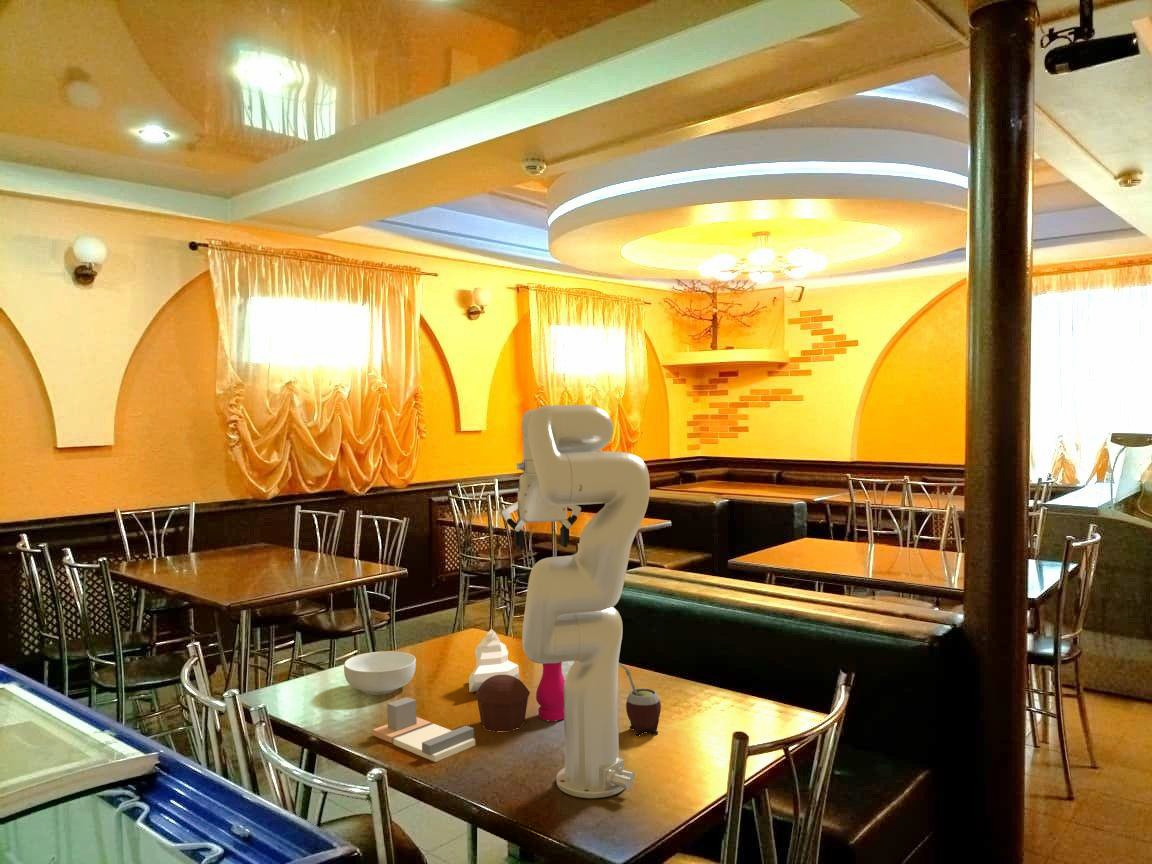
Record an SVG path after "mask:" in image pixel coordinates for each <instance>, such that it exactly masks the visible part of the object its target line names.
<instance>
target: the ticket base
mask: <svg viewBox="0 0 1152 864" xmlns="http://www.w3.org/2000/svg"><path fill="white" fill-rule="evenodd" d="M392 745H394V746H397V747H399V748H401V749H403V750H406V751H408V752H411V753H413V754H415V755H418V756H420V757H422V758H425V759H426V760H429V761H431V762H435V763H437V762H440V761H441V760H443V759H446V758H448V757H451V756H453V755H456V754H458V753H461V752H463V751H466V750H468V749H470V748H473V747H475V746H476V738H475V728H474V727H471V726H469V725H463V726H461V727H458V728H456V729H453V730H451V729H449V728H446V727H443V726H441V725H438V724H436V723H433V722H431V724H429V725H426V726H424V727H421V728H418V729H416V730H413V731H410V732H408V733H405V734H402V735H400V736H397V737H394V738H393V743H392Z"/></svg>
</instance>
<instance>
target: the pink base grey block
mask: <svg viewBox="0 0 1152 864" xmlns="http://www.w3.org/2000/svg"><path fill="white" fill-rule="evenodd" d="M386 707H387V710H386V711H387V712H386V713H387V724H384V725H381V726H379V727H375V728H373V729H372V736H373V737H376V738H378V739H381V740H383V741H386V742H388V743H390V744H393V738H394V737H397V736H400V735H402V734H405V733H408V732H410V731H413V730H416V729H418V728H421V727H424V726H426V725H429V724H432V722H431V721H429V720H426V719H423V718H421V717H418V716H417V699H414V698H411V697H408V696H405V697H402V698H400V699H397V700H394V701H391V702H387V704H386Z"/></svg>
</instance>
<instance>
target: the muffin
mask: <svg viewBox="0 0 1152 864" xmlns="http://www.w3.org/2000/svg"><path fill="white" fill-rule="evenodd" d="M475 692H476V693H474V695H475V697H476V699H477V701H476V702H477V705H478V711H479V718H480V724H481V726H482V727H483V726H484V727H483V729H484V728H485V729H486V730H485V729H484V730H485V731H487V730H491V731H490V732H492V731H495V732H497V731H511V730H513V729H516V728H520V727H521V728H522V726H523V725H524V724H525V721H526V713H527V707H528V699H529V696H530V694H531V692H530V690H529V689H528V688H527V687H526V685H525V683H524V682H523V681H522V680H521V679H520V678H519V679H517V678H516V677H513V676H511V675H495V676H492V677H490V678H488V679H487V680H485V681H484V682H483V683H482V685H481V686H480V687H479V689H478V691H475ZM523 723H524V724H523ZM522 724H523V725H522ZM521 725H522V726H521ZM521 728H520V729H521ZM495 732H494V733H495ZM511 732H512V731H511Z"/></svg>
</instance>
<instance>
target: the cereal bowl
mask: <svg viewBox="0 0 1152 864" xmlns="http://www.w3.org/2000/svg"><path fill="white" fill-rule="evenodd" d="M416 658H417V657H415V655H413V654H411V653H407V652H402V651H392V650H391V651H388V650H387V651H385V650H384V651H374V652H373V651H372V652H371V651H370V652H367V653H360V654H357V655H354V656H352V657H349V658H348V659H347V660H345V662H344V664H343V670H344V671H343V673H344V677H345V681H346V682H347V683H348V684H349V685H350V687H352V688H353V689H356V690H358V691H360V692H363V693H364V694H367V695H372V696H376V695H377V696H380V695H381V696H382V695H388V694H390V693H394V692H395V691H397V690H398V689H400V688H401V687H405V686H406V685H407V684H408V683H410V681H411V680H412V679H413V677H414V675H415V673H416V667H417V659H416Z"/></svg>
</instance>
